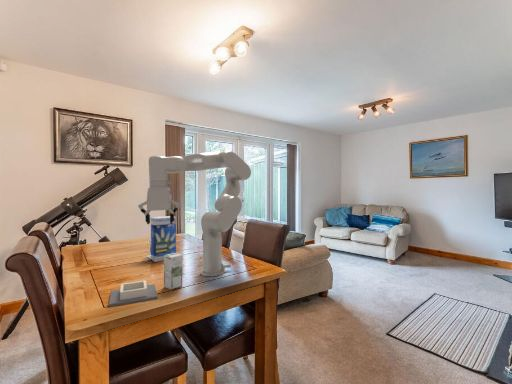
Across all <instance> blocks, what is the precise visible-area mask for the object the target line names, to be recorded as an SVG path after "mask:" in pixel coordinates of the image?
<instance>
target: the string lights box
mask: <svg viewBox="0 0 512 384" xmlns="http://www.w3.org/2000/svg"><path fill="white" fill-rule="evenodd" d="M172 253H177V217H176V216H175V215H174V221H173V222H172V223H170V215H169V216H166V215H165V216H150V260H152V261H153V262H155V263H157V262H164V255H168V254H172Z"/></svg>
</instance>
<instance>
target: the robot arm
mask: <svg viewBox="0 0 512 384" xmlns="http://www.w3.org/2000/svg"><path fill="white" fill-rule="evenodd" d="M222 168H225V170H224V176H225V180H226V181H225V182H226V183H225V187H223V188H224V189H222V191H221V193H220V195H218V197H217V199H216V200H215V202H214V209H215V210H216V211H210V210H209V211H207V212H204V213H203V215H202V216H201V219H200V225H201V230H202V231H201V232H202V268H201V269H200V270H199V273H200V275H201V276H204V277H219V276H221V275H224V274H225V272H226V268H227V269H228V268H232V267H231V266H232V264H231V263H227V262H225V263H223V261H222V260H223V259H222V258H223V256H222V255H223V251H222V250H223V249H222V248H223V246H222V244H223V241H222V240H223V237H222V236H223V235H222V233H225V232H226V233H227V232H228V231H229V230H230V229H231V227H232V226H233V224H234V222H235V221H236V220H237V219H238V216H239V215H240V213H241V211H242V207H243V202H242V199H241V198H240V197H239V195H240V193H241V185H240V181H246V180H249V179H250V177H251V176H252V169H251V167H250V166H249V164H248V163H246V161H244V159H242V158H241V157H240V156H239V155H238V154H237V153H235V152H234V151H232V150H229V149H227V150H220V151H212V152H210V151H209V152H199V153H194V154H188V155H184V156H183V155H182V156H178V155H175V156H174V155H172V156H164V155H152V156H149V157H148V176H149V177H148V178H149V179H148V180H149V183H148V184H149V187H148V188H147V193H146V201H144V202H141V203H140V204H138V205H137V206H138V208H139V210H140V212H141V213H142V214H144V216H145V223H146V224H147V225H151V215H150V213H151V211H155V212H156V211H168V212H169V213H170V214H169V216H170V223H172V222H173V221H174V216H175V213H176V212H177V211H178V209H179V208H180V206H181V203H179V202H177V201H175V200H173V199H172V192H171V188H170V187H169V186H170V185H172V182H171V181H169V180H168V174H179V173H183V172H199V171H200V172H201V171H207V170H215V169H216V170H217V169H222ZM173 205H175V207H174V208H173ZM145 206H146V209H147V210H146V209H145V208H144V207H145Z"/></svg>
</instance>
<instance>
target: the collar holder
mask: <svg viewBox="0 0 512 384" xmlns="http://www.w3.org/2000/svg"><path fill="white" fill-rule="evenodd" d="M157 298H158V293H157V288H156V284H148V285H147V280H145V279H144V280H140V281H132V282H125V283H120V288H119V289H114V290H113V289H112V290H111V291H110V296H109V302H108V307H109V308H111V307H117V306H124V305H128V304H129V305H130V304H134V303H141V302H145V301H146V300H147V301H152V300H151V299H153V300H157ZM158 299H159V298H158Z"/></svg>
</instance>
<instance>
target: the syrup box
mask: <svg viewBox="0 0 512 384" xmlns="http://www.w3.org/2000/svg"><path fill="white" fill-rule="evenodd" d="M163 262H164V263H163V267H164V268H163V287H164V288H165V289H166V288H167V289H168V290H170V289H171V291H172V289H173V290H176V289H178V288H181V287H183V254H181V253H178V252H176V253H172V254H168V255H164V261H163ZM175 288H176V289H175Z"/></svg>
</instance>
